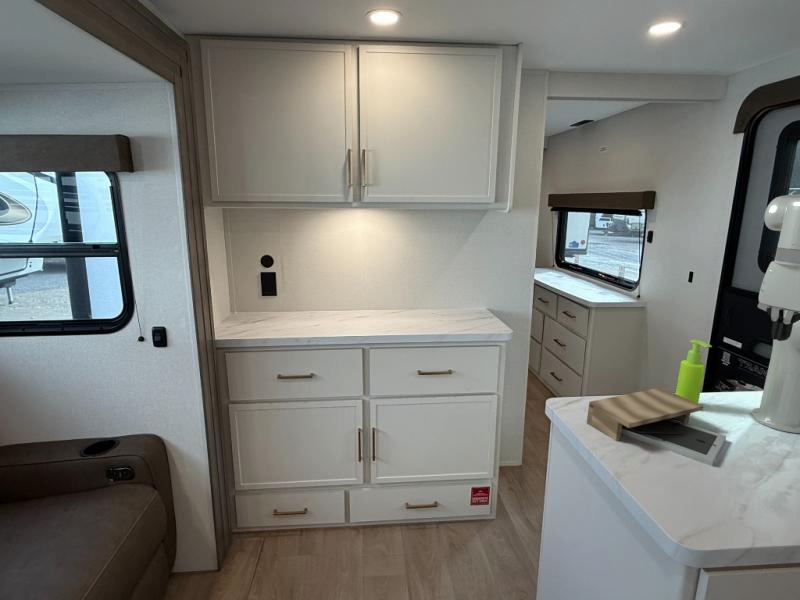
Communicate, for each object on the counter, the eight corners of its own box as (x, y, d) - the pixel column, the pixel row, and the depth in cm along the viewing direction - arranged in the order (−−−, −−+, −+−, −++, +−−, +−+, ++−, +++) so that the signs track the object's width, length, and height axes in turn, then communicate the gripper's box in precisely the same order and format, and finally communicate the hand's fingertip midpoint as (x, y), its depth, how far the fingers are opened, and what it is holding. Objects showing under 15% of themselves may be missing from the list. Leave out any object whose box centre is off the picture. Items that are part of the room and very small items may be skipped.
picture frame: (616, 434, 117) (711, 468, 103) (618, 424, 117) (713, 457, 103) (636, 415, 129) (724, 443, 115) (638, 405, 128) (727, 433, 114)
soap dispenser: (689, 412, 130) (702, 345, 125) (669, 401, 136) (680, 338, 131) (705, 410, 131) (718, 344, 127) (684, 399, 138) (696, 336, 133)
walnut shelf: (656, 407, 132) (660, 387, 131) (699, 427, 121) (703, 406, 120) (586, 423, 122) (589, 401, 120) (625, 446, 110) (629, 423, 109)
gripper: (852, 262, 92) (830, 348, 96) (769, 252, 105) (753, 328, 109) (831, 263, 89) (810, 352, 93) (749, 253, 102) (733, 331, 107)
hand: (779, 339), depth 101 cm, fingers closed
